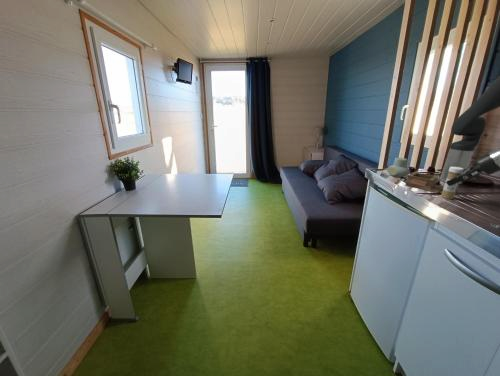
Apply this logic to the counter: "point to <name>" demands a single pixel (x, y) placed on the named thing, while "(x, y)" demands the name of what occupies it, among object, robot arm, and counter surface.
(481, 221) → the counter surface
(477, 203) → the counter surface
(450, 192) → the sprinkles bottle
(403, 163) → the air freshener
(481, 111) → the robot arm
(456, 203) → the counter surface
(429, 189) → the spice socket
